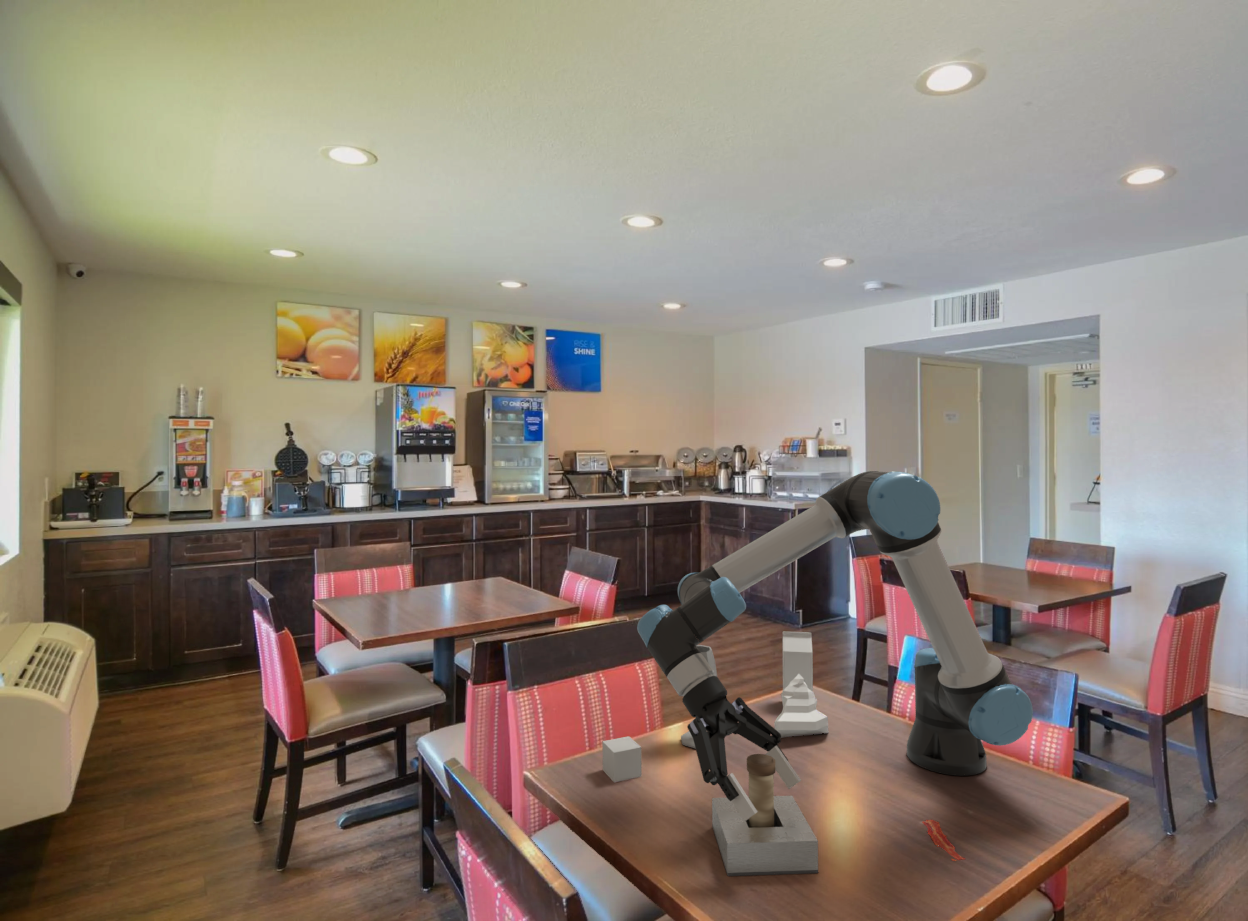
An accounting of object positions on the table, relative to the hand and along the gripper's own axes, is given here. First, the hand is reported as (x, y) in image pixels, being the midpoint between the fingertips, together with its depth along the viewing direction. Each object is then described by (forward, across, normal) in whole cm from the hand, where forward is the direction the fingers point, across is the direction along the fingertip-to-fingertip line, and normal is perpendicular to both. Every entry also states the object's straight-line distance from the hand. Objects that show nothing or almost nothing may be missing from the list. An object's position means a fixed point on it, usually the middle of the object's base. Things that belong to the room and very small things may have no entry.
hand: (774, 800), depth 111 cm
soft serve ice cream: (-8, -45, -21) cm, 51 cm away
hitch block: (+4, 0, -8) cm, 9 cm away
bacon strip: (+19, -23, +6) cm, 31 cm away
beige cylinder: (+4, 0, -8) cm, 9 cm away
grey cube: (-20, -4, -33) cm, 39 cm away
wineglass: (-18, -27, -31) cm, 45 cm away
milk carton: (-14, -61, -27) cm, 68 cm away
